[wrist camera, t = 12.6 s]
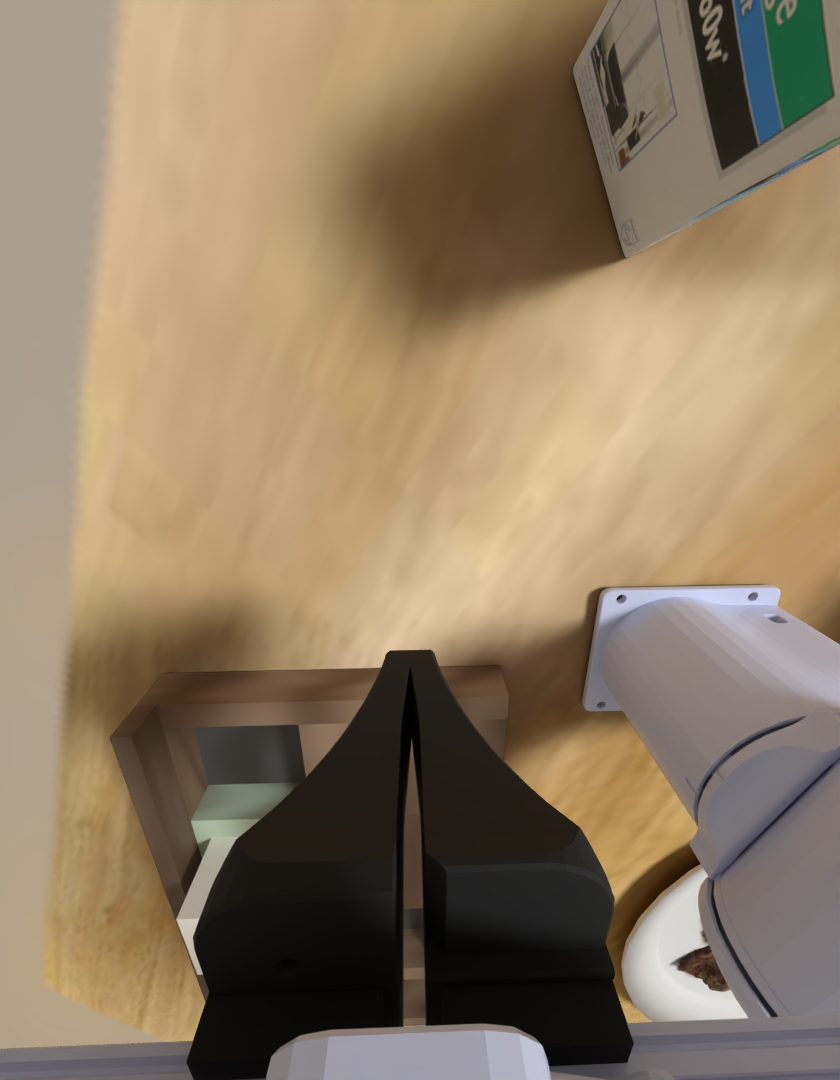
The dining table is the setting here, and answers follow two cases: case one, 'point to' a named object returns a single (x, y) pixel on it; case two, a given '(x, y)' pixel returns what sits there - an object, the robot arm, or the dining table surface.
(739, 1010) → the plated food
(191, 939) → the cream block
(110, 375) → the dining table surface
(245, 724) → the brown wooden tray
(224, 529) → the dining table surface
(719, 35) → the light bulb box
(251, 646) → the dining table surface
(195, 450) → the dining table surface
